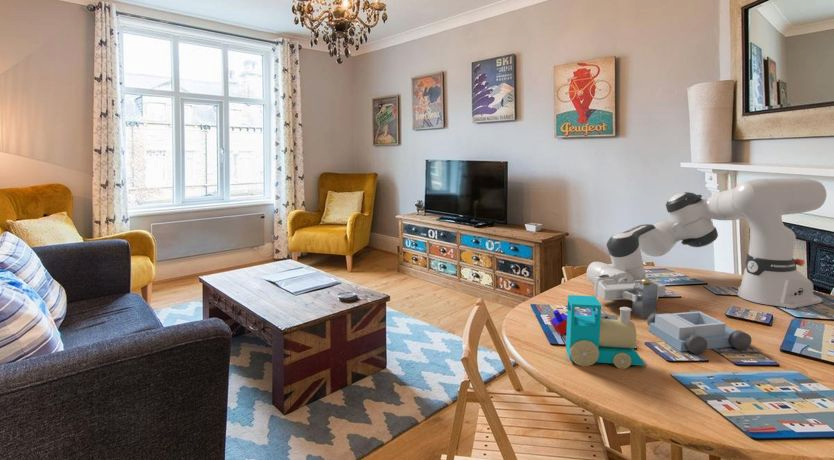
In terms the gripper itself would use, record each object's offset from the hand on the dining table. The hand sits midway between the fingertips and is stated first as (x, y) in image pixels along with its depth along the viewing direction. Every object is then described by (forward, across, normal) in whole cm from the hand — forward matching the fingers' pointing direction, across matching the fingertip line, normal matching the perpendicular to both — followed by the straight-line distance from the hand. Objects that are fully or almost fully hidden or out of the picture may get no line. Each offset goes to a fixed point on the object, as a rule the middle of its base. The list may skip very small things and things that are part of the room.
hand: (646, 298), depth 128 cm
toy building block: (+6, +29, -6) cm, 30 cm away
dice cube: (+9, +18, -6) cm, 21 cm away
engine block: (-1, 0, -6) cm, 6 cm away
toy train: (+22, +27, -6) cm, 35 cm away
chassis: (+16, -3, -6) cm, 17 cm away
